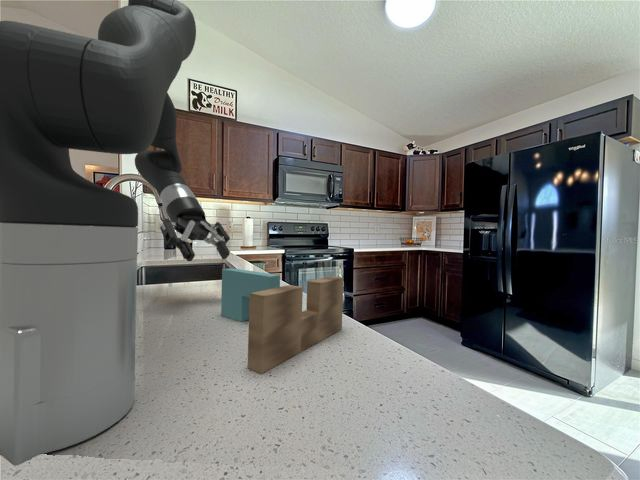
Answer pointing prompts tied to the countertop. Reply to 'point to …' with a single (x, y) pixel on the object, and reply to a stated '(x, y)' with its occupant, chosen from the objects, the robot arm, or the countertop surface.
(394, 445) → the countertop surface
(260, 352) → the u-shaped wooden block
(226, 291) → the teal l-shaped piece
